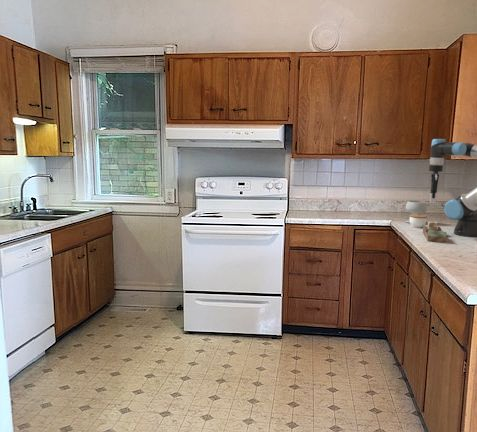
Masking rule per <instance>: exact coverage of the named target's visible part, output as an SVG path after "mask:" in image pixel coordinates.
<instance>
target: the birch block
mask: <svg viewBox="0 0 477 432" xmlns="http://www.w3.org/2000/svg"><path fill="white" fill-rule="evenodd" d="M427 228H428V230H435V231H437V229H438V222H437V221H430V220H429V221H427Z"/></svg>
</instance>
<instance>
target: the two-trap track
mask: <svg viewBox="0 0 477 432" xmlns="http://www.w3.org/2000/svg"><path fill="white" fill-rule="evenodd" d="M422 234H423V235H424V237H425V239H426V241H427V242H431V243H432V242H434V243H444V242H445V243H446V240H447V231H444V230H442V228H441V226H438V225H437V231H435V230H428V226H426V224H425V225H423V227H422Z"/></svg>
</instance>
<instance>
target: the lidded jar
mask: <svg viewBox="0 0 477 432" xmlns="http://www.w3.org/2000/svg"><path fill="white" fill-rule="evenodd" d="M409 220H410V223H409V224H410V225H411V226H412V228H416V227H417V228H418V229H419V228H420V229H421V228H422V229H423V225H425V226H426V224H427V222H428V221H427V220H428V215H425V214H420V215H419V213H418V214H411V213H410V214H409Z"/></svg>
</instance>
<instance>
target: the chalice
mask: <svg viewBox="0 0 477 432" xmlns="http://www.w3.org/2000/svg"><path fill="white" fill-rule="evenodd" d="M405 210H406V211H407V212H408V213H409V214H410V215H411V214H418V213H419V215H423V214H424V213H426V212H427V211H428V204H427V202H426V201H423V200H407V202H406V204H405ZM405 223H409V224H410V219H408V220H406V221H405Z"/></svg>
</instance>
